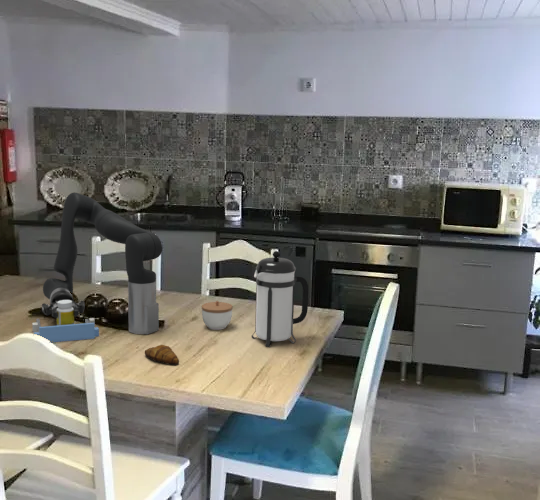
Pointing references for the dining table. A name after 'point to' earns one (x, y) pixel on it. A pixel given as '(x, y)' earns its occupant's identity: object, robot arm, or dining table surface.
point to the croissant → (162, 355)
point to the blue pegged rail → (67, 331)
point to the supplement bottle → (65, 312)
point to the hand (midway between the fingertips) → (65, 314)
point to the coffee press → (277, 299)
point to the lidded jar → (217, 314)
